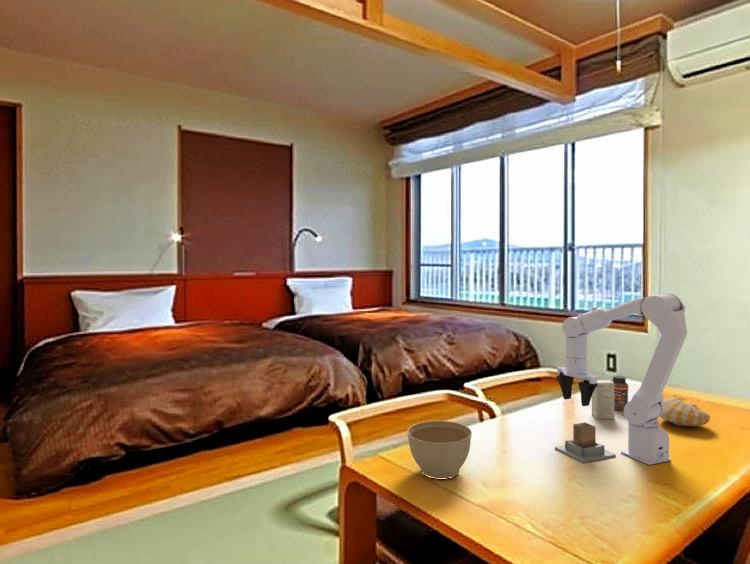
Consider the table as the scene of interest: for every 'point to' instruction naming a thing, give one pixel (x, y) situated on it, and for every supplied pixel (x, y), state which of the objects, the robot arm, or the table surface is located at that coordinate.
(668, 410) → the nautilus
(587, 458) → the stand
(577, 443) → the walnut block
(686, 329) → the robot arm
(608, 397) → the skincare box
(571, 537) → the table surface
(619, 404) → the supplement bottle
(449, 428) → the planter bowl
